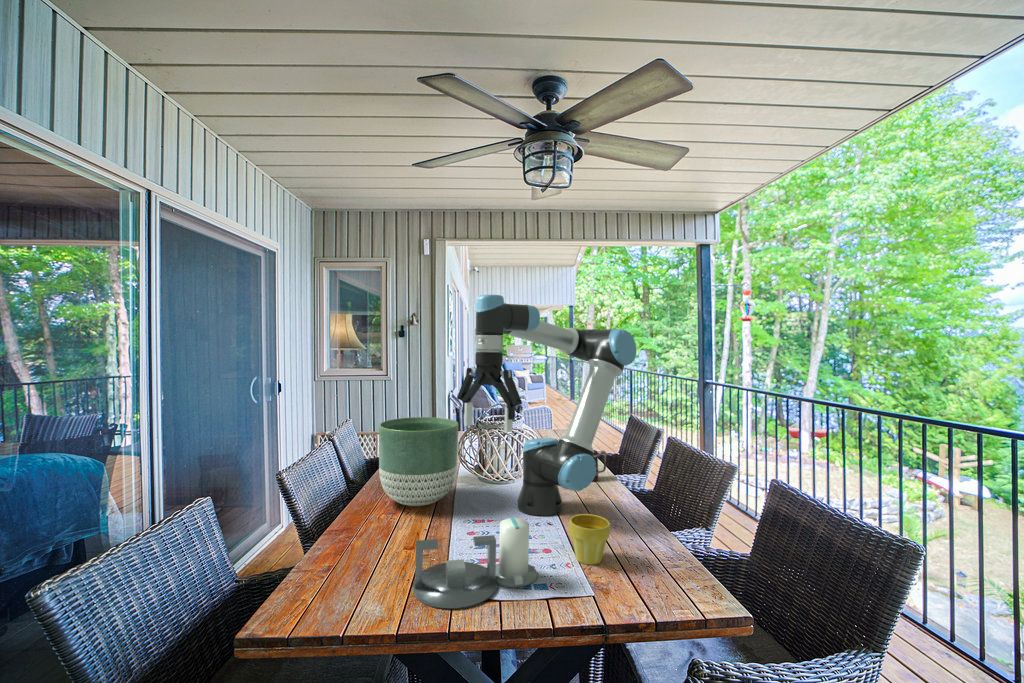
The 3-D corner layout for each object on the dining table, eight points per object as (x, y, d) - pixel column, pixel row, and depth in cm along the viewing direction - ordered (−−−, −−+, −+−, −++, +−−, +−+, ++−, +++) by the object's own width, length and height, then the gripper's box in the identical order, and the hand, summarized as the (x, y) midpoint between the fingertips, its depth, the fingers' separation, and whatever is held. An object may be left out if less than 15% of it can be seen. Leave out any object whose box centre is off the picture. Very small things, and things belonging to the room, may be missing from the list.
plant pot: (611, 553, 122) (612, 516, 122) (606, 571, 112) (607, 531, 112) (573, 547, 126) (573, 511, 126) (564, 564, 116) (565, 525, 116)
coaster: (530, 562, 116) (530, 559, 116) (541, 585, 106) (542, 581, 106) (487, 566, 114) (487, 562, 114) (494, 589, 103) (494, 586, 103)
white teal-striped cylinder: (495, 561, 115) (495, 514, 115) (522, 559, 116) (523, 512, 116) (503, 586, 104) (504, 533, 103) (533, 583, 105) (534, 531, 105)
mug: (581, 481, 184) (582, 451, 184) (580, 476, 191) (580, 447, 191) (607, 482, 183) (607, 452, 183) (605, 477, 190) (605, 448, 190)
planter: (360, 509, 151) (362, 426, 151) (407, 485, 175) (408, 414, 175) (431, 522, 141) (432, 434, 141) (470, 495, 166) (471, 420, 166)
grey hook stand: (489, 562, 116) (490, 521, 116) (504, 604, 98) (505, 556, 98) (413, 568, 112) (413, 526, 112) (412, 613, 94) (413, 563, 94)
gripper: (445, 350, 130) (444, 425, 130) (520, 352, 117) (518, 436, 117) (462, 349, 136) (461, 421, 137) (535, 352, 123) (533, 431, 123)
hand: (487, 428), depth 127 cm, fingers open, 13 cm apart
